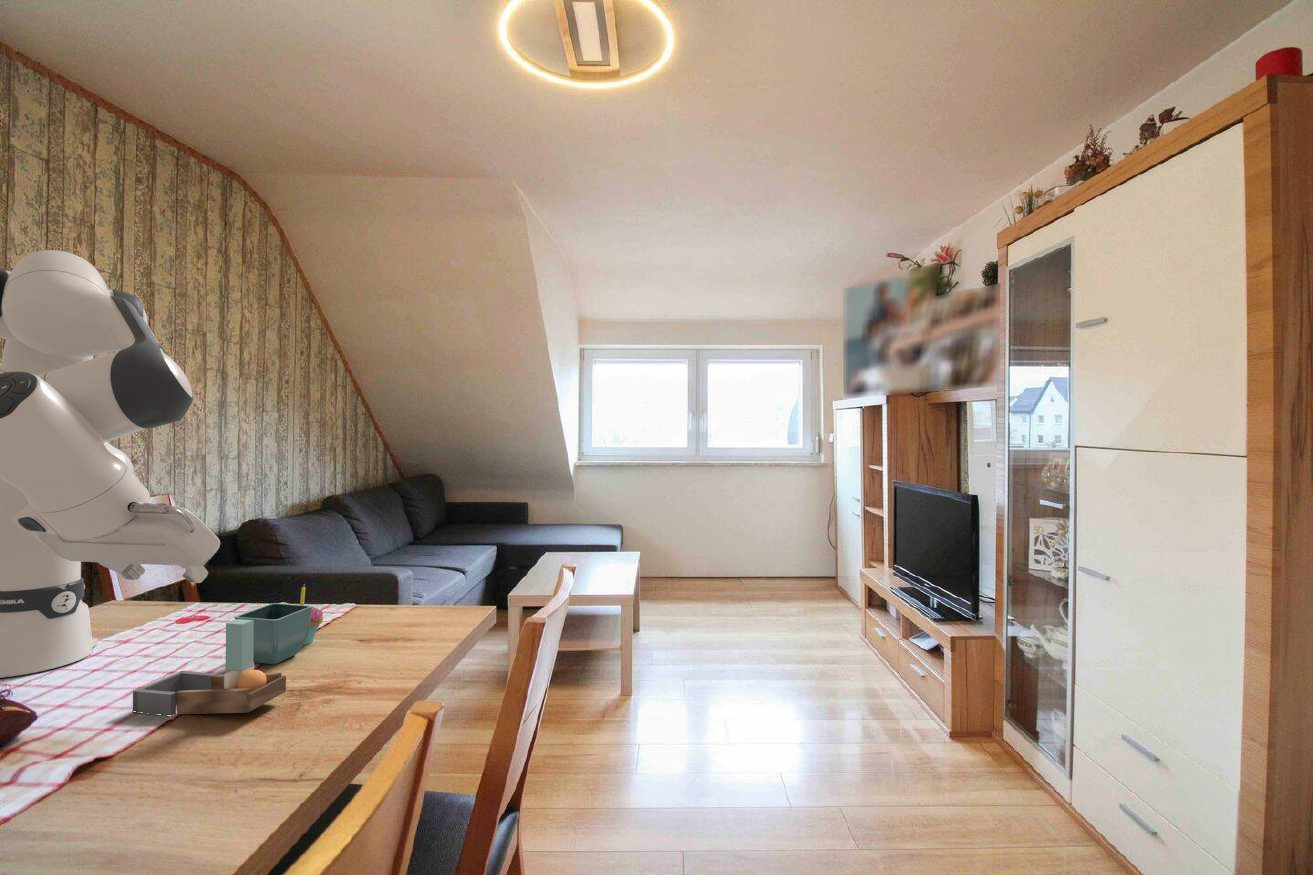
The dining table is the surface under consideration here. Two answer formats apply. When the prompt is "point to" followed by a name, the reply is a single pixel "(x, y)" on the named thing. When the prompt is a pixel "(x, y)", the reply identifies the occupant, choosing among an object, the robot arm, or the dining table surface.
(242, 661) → the rectangular block
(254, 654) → the flower pot
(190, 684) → the grey low frame
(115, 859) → the dining table surface
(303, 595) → the cupcake
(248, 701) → the hexagonal shallow dish
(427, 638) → the dining table surface
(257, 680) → the ball
